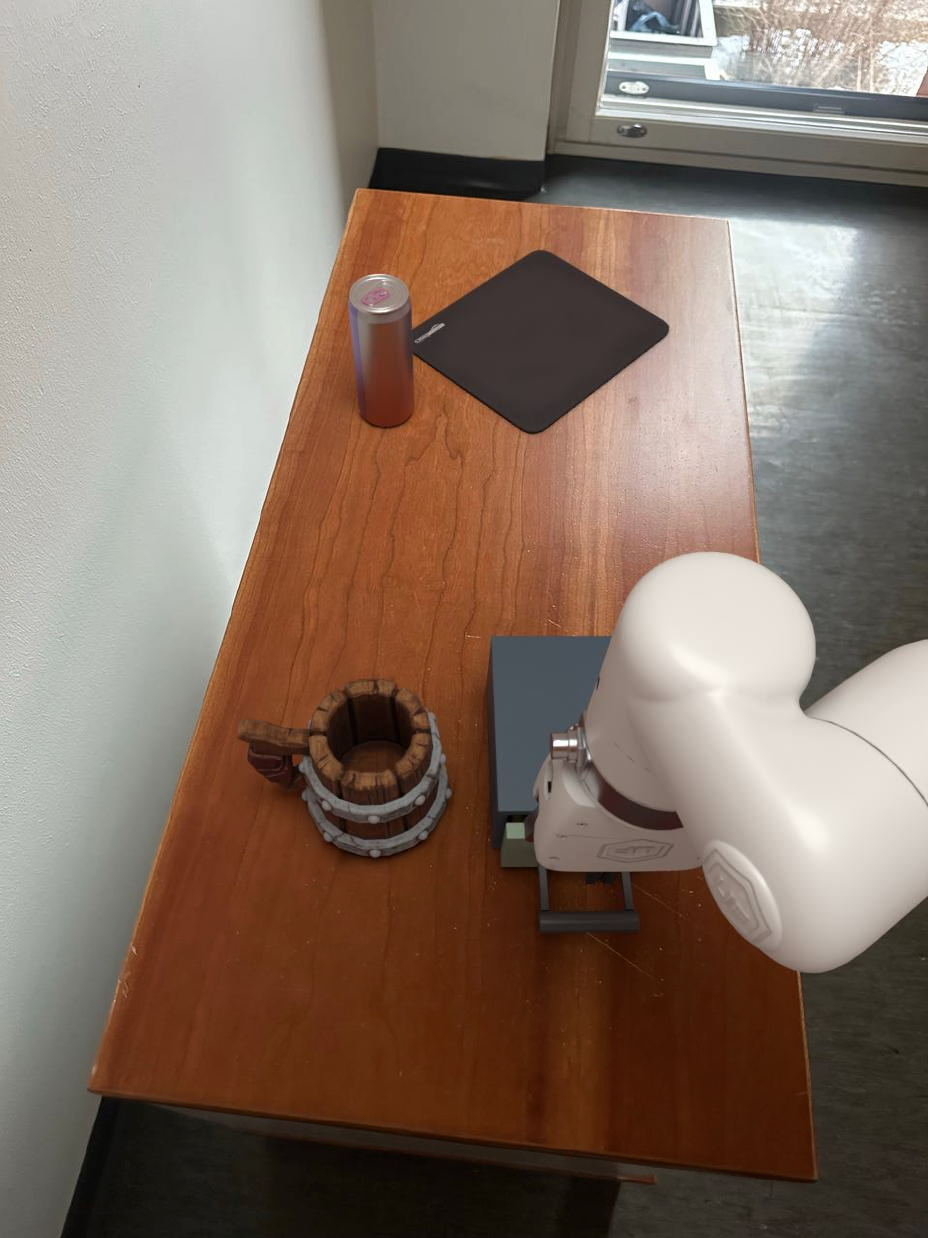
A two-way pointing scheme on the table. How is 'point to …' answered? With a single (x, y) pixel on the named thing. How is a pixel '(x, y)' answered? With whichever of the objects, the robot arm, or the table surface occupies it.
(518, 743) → the cabinet
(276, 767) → the mug
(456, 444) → the table surface
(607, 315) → the mouse pad
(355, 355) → the beverage can
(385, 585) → the table surface
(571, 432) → the table surface
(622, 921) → the drawer
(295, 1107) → the table surface
